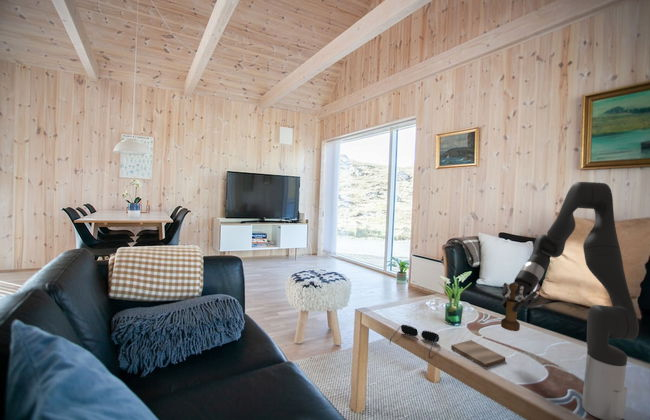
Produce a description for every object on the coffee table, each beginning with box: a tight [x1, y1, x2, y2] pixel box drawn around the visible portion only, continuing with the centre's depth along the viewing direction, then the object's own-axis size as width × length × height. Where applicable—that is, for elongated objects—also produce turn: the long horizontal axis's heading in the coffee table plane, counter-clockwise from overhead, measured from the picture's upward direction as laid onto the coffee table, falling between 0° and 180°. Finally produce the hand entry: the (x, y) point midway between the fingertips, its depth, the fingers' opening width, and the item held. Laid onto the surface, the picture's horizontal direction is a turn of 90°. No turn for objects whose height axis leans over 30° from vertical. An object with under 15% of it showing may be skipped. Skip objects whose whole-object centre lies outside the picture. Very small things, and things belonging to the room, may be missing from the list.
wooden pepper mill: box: [500, 282, 521, 332], centre depth 131 cm, size 7×6×18 cm
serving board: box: [450, 339, 506, 368], centre depth 135 cm, size 16×12×2 cm
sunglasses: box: [389, 324, 440, 357], centre depth 143 cm, size 17×15×5 cm
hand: (508, 308), depth 131 cm, fingers closed on wooden pepper mill, 4 cm apart
